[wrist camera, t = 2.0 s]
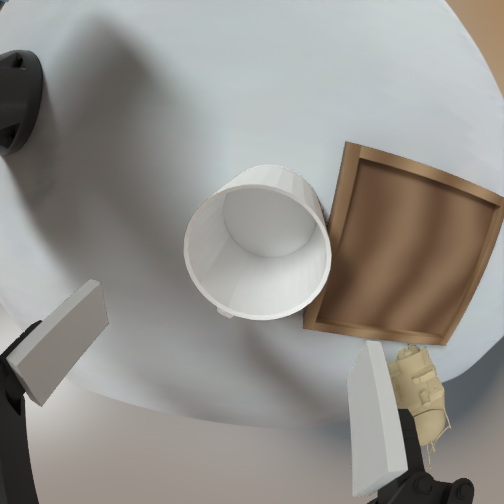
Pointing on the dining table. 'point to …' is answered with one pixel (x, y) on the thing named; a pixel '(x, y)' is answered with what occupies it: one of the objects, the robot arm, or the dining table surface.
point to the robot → (419, 392)
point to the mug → (259, 245)
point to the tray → (403, 249)
